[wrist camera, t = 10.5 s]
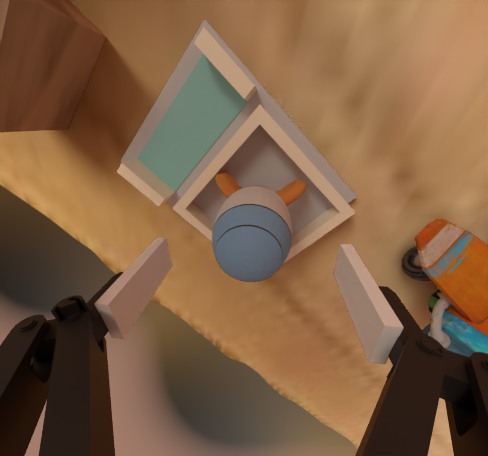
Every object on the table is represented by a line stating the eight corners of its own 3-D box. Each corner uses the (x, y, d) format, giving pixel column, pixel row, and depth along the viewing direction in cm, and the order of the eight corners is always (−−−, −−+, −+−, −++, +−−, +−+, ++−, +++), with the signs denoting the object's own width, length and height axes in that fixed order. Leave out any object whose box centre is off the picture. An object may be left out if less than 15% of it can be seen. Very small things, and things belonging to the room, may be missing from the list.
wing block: (30, 97, 25) (-79, 88, 18) (62, -7, 21) (-70, -87, 13) (68, 129, 27) (-18, 132, 19) (106, 37, 22) (11, -10, 14)
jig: (124, 160, 28) (103, 166, 24) (207, 23, 20) (193, 2, 17) (254, 270, 33) (251, 288, 30) (355, 195, 26) (368, 206, 22)
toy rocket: (304, 159, 25) (361, 246, 13) (284, 228, 31) (309, 328, 19) (217, 149, 24) (193, 233, 12) (215, 223, 30) (198, 323, 19)
